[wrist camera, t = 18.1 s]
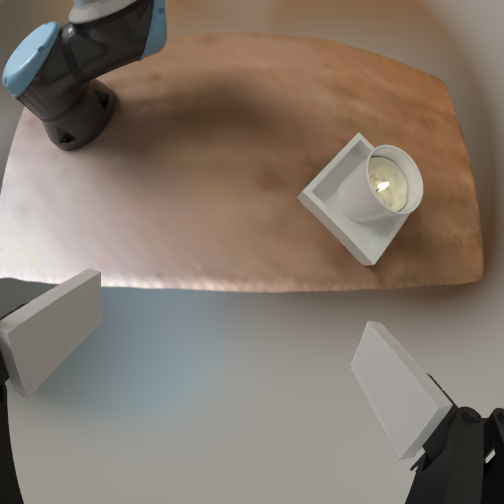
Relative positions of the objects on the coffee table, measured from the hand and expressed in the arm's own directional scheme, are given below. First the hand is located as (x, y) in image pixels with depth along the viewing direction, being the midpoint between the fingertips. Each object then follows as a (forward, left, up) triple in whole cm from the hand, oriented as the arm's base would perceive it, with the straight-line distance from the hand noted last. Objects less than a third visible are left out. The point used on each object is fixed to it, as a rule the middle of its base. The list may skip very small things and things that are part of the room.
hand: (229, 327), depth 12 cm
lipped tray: (+6, +26, -30) cm, 40 cm away
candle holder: (+6, +25, -29) cm, 39 cm away
